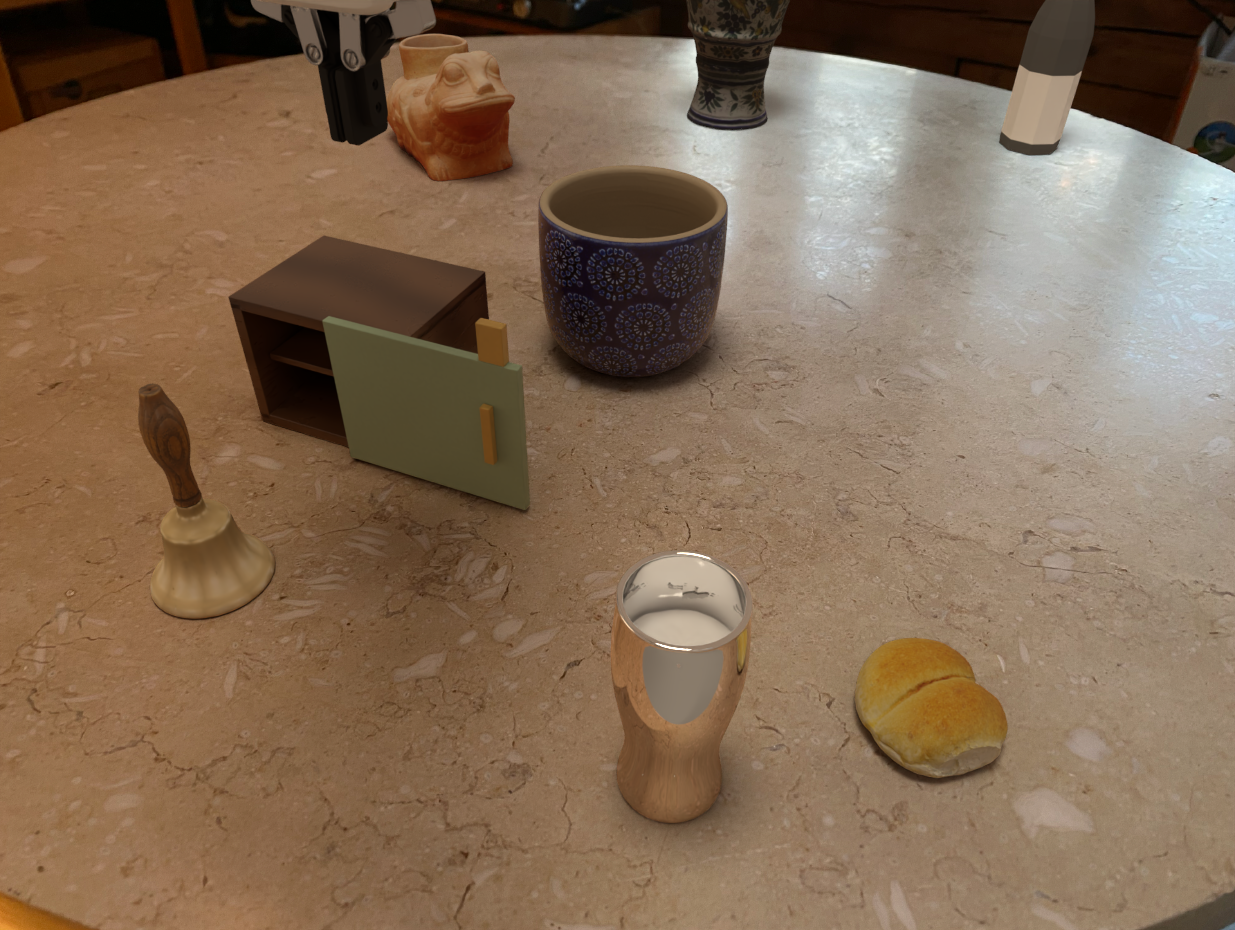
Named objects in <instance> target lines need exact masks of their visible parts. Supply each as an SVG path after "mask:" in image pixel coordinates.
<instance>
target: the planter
mask: <svg viewBox="0 0 1235 930" xmlns="http://www.w3.org/2000/svg"><path fill="white" fill-rule="evenodd" d="M537 210H538V211H537V213H538V215H537V217H538V218H537V221H538V224H537V226H538V254H539V268H540V269H539V270H540V283H541V293H542V301H543V307H544V308H543V309H544V313H545V318H546V322H547V325H548V328H549V332H550V333H551V335H552V336H553V338H554V340H555V341H556V342H557V344H558V345H559V347H560V348H561V350H563V351H564V353H566V354H567V355H568V356H569V357H570V358H572V359H573V360H574V361H575V362H577V363H578V364H579V365H581V366H583V367H585V368H587V369H590V370H592V371H595V372H598V373H600V374H605V375H608V376H614V377H621V378H641V377H650V376H654V375H658V374H661V373H665V372H668V371H671V370H673V369H675V368H677V367H679V366H680V365H682V364H684V363H685V362H686V361H688V360H689V359H691V358H692V357H693V356H694V355H695V354H696V353H697V352H698V351H699V350H700V349H701V348H702V347H703V345H704V344H705V342H706V341H707V339H708V338H709V336H710V334H711V331H712V328H713V326H714V323H715V320H716V315H717V310H718V305H719V300H720V296H721V289H722V283H723V282H722V281H723V272H724V266H725V265H724V264H725V256H726V246H727V245H726V244H727V234H728V217H729V206H728V201H727V199H726V197H725V196H724V194H723V193H722V192H721V191H720V190H719V189H718V188H717V187H716V186H714V185H713V184H712V183H710V182H708V181H706V180H704V179H702V178H700V177H698V176H695V175H692V174H689V173H686V172H683V171H680V170H675V169H671V168H665V167H661V166H660V167H658V166H651V165H635V164H634V165H633V164H631V165H630V164H628V165H627V164H626V165H622V164H621V165H608V166H607V165H606V166H600V167H592V168H588V169H583V170H579V171H575V172H573V173H569V174H567V175H565V176H563V177H560V178H558V179H557V180H555V181H554V182H552V183H550V184H549V185H548V186H547V187H546V188H545V189H544V190H543V191H542V192H541V195H540V196H539V200H538V209H537Z"/></svg>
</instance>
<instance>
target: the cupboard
mask: <svg viewBox="0 0 1235 930" xmlns="http://www.w3.org/2000/svg"><path fill="white" fill-rule="evenodd" d="M227 297H228V300H229V305H230V308H231V312H232V316H233V319H234V322H235V326H236V329H237V334H238V337H239V341H240V345H241V348H242V351H243V355H244V358H245V362H246V366H247V369H248V373H249V377H250V380H251V383H252V387H253V392H254V395H255V398H256V402H257V405H258V409H259V412H260V416H261V419H262V422H264V423H268V424H270V425H274V426H278V427H281V428H284V429H288V430H290V431H294V432H297V433H301V434H304V435H308V436H310V437H314V438H317V439H320V440H324V441H327V442H331V443H334V444H337V445H340V446H344V447H346V448H349V446H348V441H347V436H346V432H345V427H344V422H343V417H342V413H341V408H340V403H339V398H338V393H337V389H336V384H335V379H334V374H333V370H332V365H331V360H330V355H329V350H328V346H327V341H326V336H325V331H324V327H323V322H322V321H323V320H324V319H325V318H327V317H328V316H331V317H334V318H338V319H342V320H346V321H350V322H354V323H358V324H362V325H366V326H370V327H374V328H378V329H381V330H385V331H389V332H393V333H397V334H401V335H405V336H409V337H413V338H417V339H421V340H425V341H428V342H432V343H436V344H440V345H444V346H448V347H452V348H456V349H460V350H464V351H468V352H472V353H476V354H478V348H477V337H476V326H475V323H476V322H477V321H478V320H479V319H480V318H484V319H488V320H490V315H489V303H488V301H489V300H488V290H487V277H486V271H484V270H480V269H476V268H470V267H467V266H461V265H458V264H453V263H449V262H444V261H440V260H435V259H431V258H427V257H422V256H418V255H412V254H409V253H404V252H400V251H395V250H390V249H386V248H382V247H377V246H373V245H368V244H364V243H359V242H355V241H351V240H348V239H347V240H346V239H342V238H337V237H333V236H329V235H322V236H320V237H319V238H317V239H316V240H314V241H313V242H310V243H309V244H308V245H307V246H305V247H304V248H302V249H300V250H299V251H297V252H296V253H294V254H292V255H291V256H289V257H288V258H286V259H284V260H283V261H281V262H279V263H278V264H277V265H275V266H274V267H272V268H271V269H269V270H268V271H266V272H264V273H263V274H261V275H260V276H257V278H255V279H253V280H252V281H251V282H249V283H247V284H246V285H244V286H242V287H240V289H238V290H236V291H235V292H233V293H231V294H230V295H229V296H227Z"/></svg>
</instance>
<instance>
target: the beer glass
mask: <svg viewBox="0 0 1235 930" xmlns="http://www.w3.org/2000/svg"><path fill="white" fill-rule="evenodd" d="M753 607H754V601H753V595H752V591H751V589H750V587H749V585H748V583H747V581H746V580H745V579H744V577H743V576H742V575H741V574H740V572H739V571H737V570H736V569H735V568H734V567H733V566H731V565H730V564H729V563H727V562H725V561H723V560H722V559H720V558H718V557H716V556H714V555H711V554H707V553H705V552H700V551H696V550H687V549H673V550H672V549H671V550H664V551H659V552H656V553H653V554H650V555H647V556H645V557H643V558H640V559H639V560H638V561H636V562H635V563H633V564H632V565H631V566H630V567H628V569H627V570H626V571H625V572H624V573H623V575H622V576H621V577H620V579H619V582H618V584H617V586H616V590H615V606H614V611H613V619H612V627H611V636H610V637H611V638H610V651H609V653H610V676H611V681H612V688H613V694H614V699H615V701H616V705H617V710H618V714H619V717H620V721H621V724H622V729H623V733H624V735H623V736H624V738H623V739H624V740H623V744H622V747H621V750H620V752H619V756H618V759H617V764H616V770H615V771H616V775H615V776H616V782H617V786H618V788H619V791H620V794H621V795H622V798H623V799H624V800H625V802H626V804H628V805H629V806H630V807H631V808H632V809H633V810H634V811H635V812H636V813H638V814H640V815H641V816H642V817H645V818H646V819H649V820H652V821H655V822H659V823H664V824H665V823H666V824H678V823H679V824H680V823H685V822H688V821H691V820H693V819H696V818H698V817H700V816H702V815H703V814H705V813H706V812H707V811H708V810H709V809H710V808H711V807H712V806H713V804H714V803H715V802H716V800H717V799H718V797H719V795H720V792H721V789H722V785H723V784H722V783H723V769H722V762H721V756H720V748H721V743H722V741H723V739H724V736H725V734H726V732H727V729H728V727H730V724H731V722H732V720H733V716H734V714H735V712H736V710H737V707H738V705H739V702H740V699H741V697H742V694H743V692H744V688H745V684H746V679H747V674H748V669H749V663H750V654H751V642H752V615H753Z"/></svg>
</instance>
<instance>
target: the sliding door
mask: <svg viewBox="0 0 1235 930" xmlns="http://www.w3.org/2000/svg"><path fill="white" fill-rule="evenodd" d="M322 322H323V327H324V331H325V336H326V341H327V346H328V350H329V355H330V360H331V365H332V370H333V374H334V379H335V384H336V389H337V393H338V398H339V403H340V408H341V413H342V417H343V422H344V427H345V432H346V436H347V441H348V446H349V447H348V450H349V455H350V458H352V459H357V460H359V461H363V462H366V463H369V464H372V465H376V466H379V467H383V468H384V469H385V468H386V469H388V470H393V471H396V472H399V473H402V474H405V475H409V476H411V477H415V478H418V479H420V480H421V479H422V480H425V481H428V482H432V483H435V484H438V485H441V486H444V487H448V488H450V489H454V490H457V491H461V492H463V493H466V494H467V493H468V494H471V495H474V496H477V497H480V498H484V499H487V500H490V501H494V502H497V503H499V504H504V505H507V506H508V507H509V506H510V507H513V508H516V509H520V510H522V511H527V509H528V508H529V507H530V505H531V495H530V479H529V463H528V445H527V444H528V443H527V428H526V426H527V425H526V410H525V392H524V376H523V374H524V373H523V365H522V364H518V363H514V362H511V361H510V355H509V341H508V340H509V339H508V327H507V325H508V324H507V323H505V322H500V321H497V320H492V319H489V320H488V319H484V318H480V319H479V320H478V321H477V322H476V323H475V326H476V337H477V348H478V354H476V353H472V352H468V351H464V350H460V349H456V348H452V347H448V346H444V345H440V344H436V343H432V342H428V341H425V340H421V339H417V338H413V337H409V336H405V335H401V334H397V333H393V332H389V331H385V330H381V329H378V328H374V327H370V326H366V325H362V324H358V323H354V322H350V321H346V320H342V319H338V318H334V317H331V316H328V317H327V318H325V319H324V320H323V321H322Z"/></svg>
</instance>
